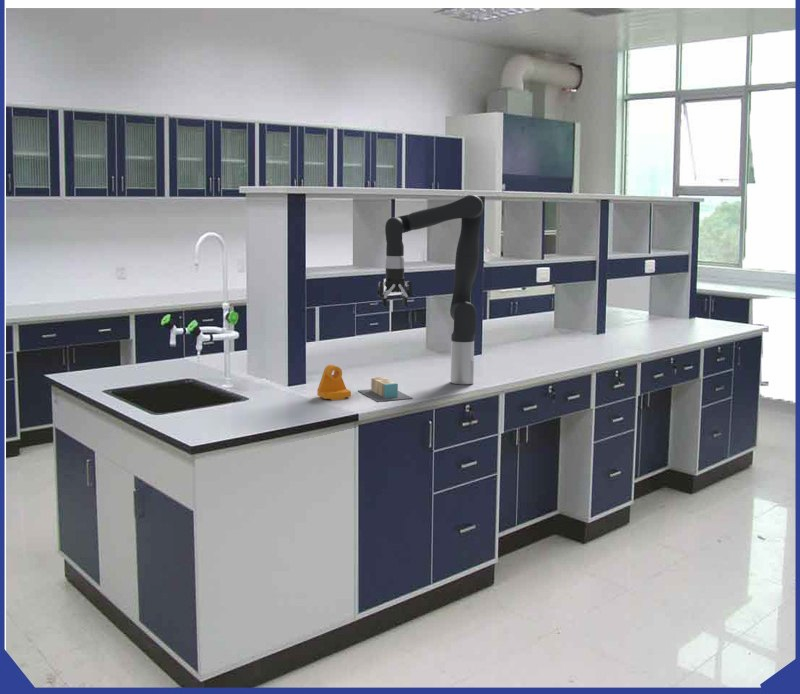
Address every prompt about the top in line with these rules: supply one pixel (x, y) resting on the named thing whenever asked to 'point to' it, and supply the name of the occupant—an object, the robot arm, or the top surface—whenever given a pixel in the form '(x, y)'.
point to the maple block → (384, 387)
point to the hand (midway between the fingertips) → (394, 307)
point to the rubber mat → (381, 399)
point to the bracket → (332, 384)
